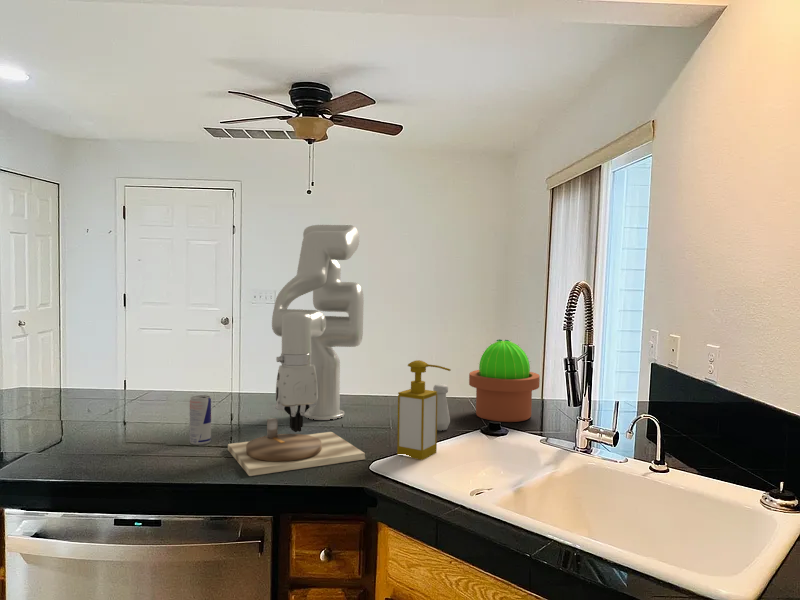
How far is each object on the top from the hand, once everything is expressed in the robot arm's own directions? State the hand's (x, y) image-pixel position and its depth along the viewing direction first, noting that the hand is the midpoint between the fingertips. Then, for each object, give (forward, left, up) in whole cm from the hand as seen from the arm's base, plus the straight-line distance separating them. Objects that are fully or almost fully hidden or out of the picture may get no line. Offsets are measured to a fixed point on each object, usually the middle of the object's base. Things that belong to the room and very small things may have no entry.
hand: (296, 430), depth 154 cm
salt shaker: (0, +44, -5) cm, 44 cm away
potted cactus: (-5, +71, -5) cm, 71 cm away
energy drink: (-15, -21, -5) cm, 26 cm away
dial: (+7, -5, -2) cm, 9 cm away
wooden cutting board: (+6, -2, -4) cm, 8 cm away
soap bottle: (+21, +27, -5) cm, 34 cm away
